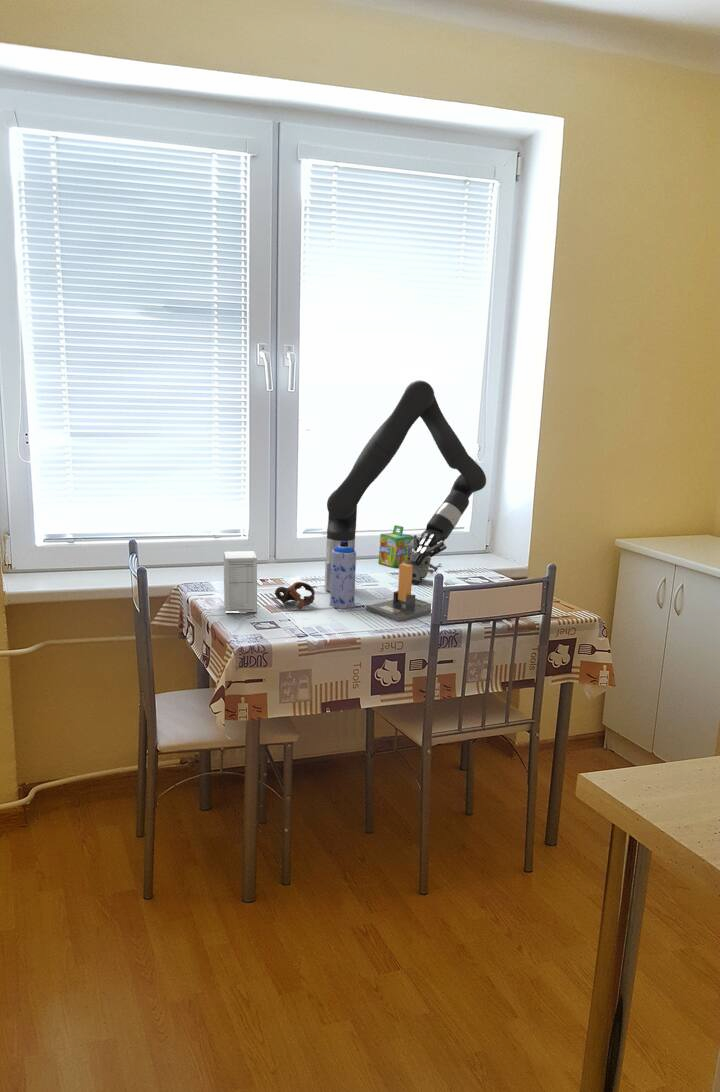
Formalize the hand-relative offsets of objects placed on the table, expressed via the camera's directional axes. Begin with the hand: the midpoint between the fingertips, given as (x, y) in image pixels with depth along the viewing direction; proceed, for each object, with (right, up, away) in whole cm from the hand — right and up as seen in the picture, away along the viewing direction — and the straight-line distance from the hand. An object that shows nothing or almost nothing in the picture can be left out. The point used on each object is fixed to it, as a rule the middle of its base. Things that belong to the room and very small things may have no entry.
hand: (414, 564), depth 243 cm
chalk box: (-3, -2, +61) cm, 61 cm away
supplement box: (-52, -13, -4) cm, 54 cm away
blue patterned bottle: (-22, -13, +5) cm, 26 cm away
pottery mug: (-36, -13, +2) cm, 39 cm away
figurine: (+5, -7, +36) cm, 37 cm away
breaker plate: (-3, -14, 0) cm, 14 cm away
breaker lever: (-3, -11, 0) cm, 11 cm away
